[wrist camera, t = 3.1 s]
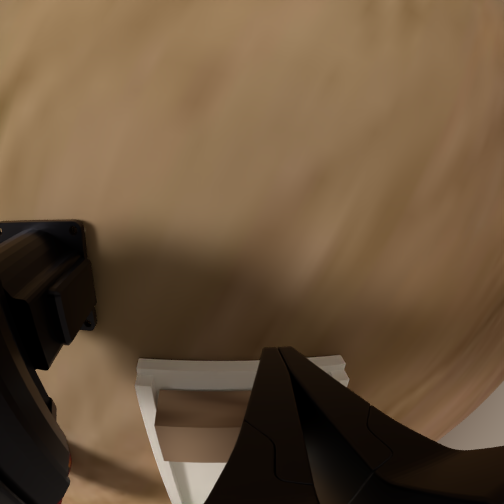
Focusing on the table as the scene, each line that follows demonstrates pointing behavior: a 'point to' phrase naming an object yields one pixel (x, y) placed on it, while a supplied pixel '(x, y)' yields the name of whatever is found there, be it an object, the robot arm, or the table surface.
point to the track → (200, 379)
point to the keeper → (199, 424)
